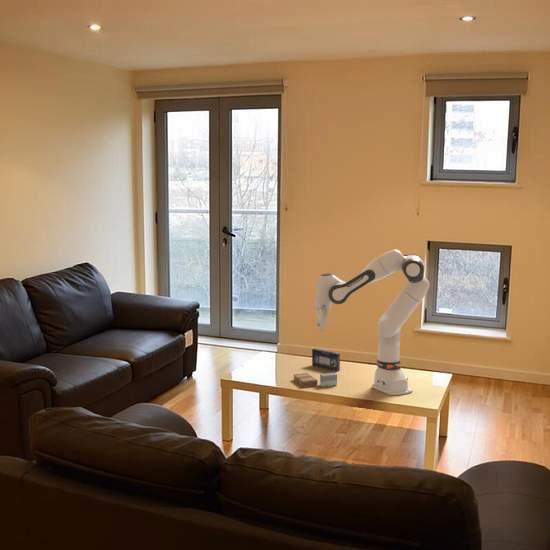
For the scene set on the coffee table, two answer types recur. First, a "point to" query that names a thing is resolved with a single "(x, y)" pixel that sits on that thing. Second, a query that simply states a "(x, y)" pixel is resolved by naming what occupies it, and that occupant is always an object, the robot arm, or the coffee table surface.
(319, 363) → the vhs cassette tape
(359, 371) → the coffee table surface
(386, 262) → the robot arm
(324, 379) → the housing
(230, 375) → the coffee table surface
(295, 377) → the walnut stand
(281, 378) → the coffee table surface
